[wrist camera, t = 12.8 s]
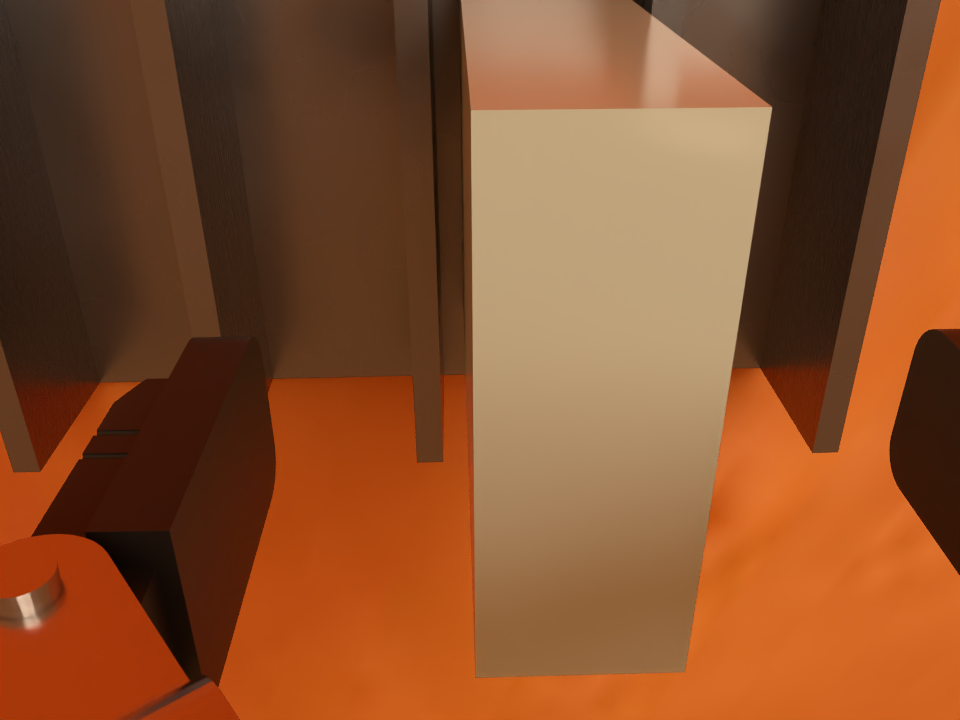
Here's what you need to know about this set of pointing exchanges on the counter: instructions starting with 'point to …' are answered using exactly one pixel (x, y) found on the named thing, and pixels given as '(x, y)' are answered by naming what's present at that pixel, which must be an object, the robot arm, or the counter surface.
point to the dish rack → (382, 192)
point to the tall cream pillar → (596, 325)
